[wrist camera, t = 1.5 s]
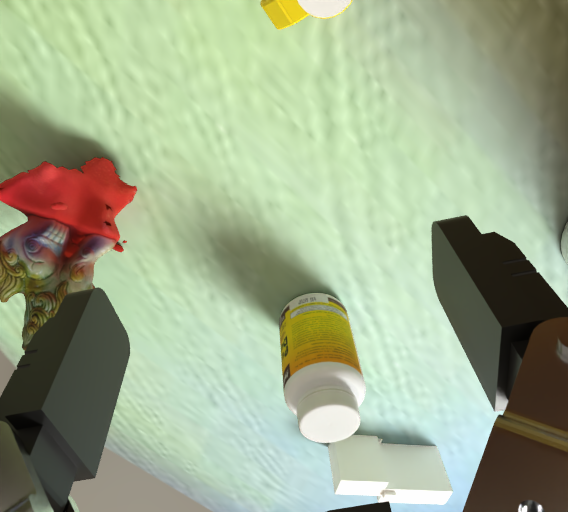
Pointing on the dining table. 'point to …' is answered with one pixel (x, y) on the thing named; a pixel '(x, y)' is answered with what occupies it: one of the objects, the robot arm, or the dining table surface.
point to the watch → (301, 10)
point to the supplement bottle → (321, 367)
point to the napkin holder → (388, 471)
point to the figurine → (58, 234)
